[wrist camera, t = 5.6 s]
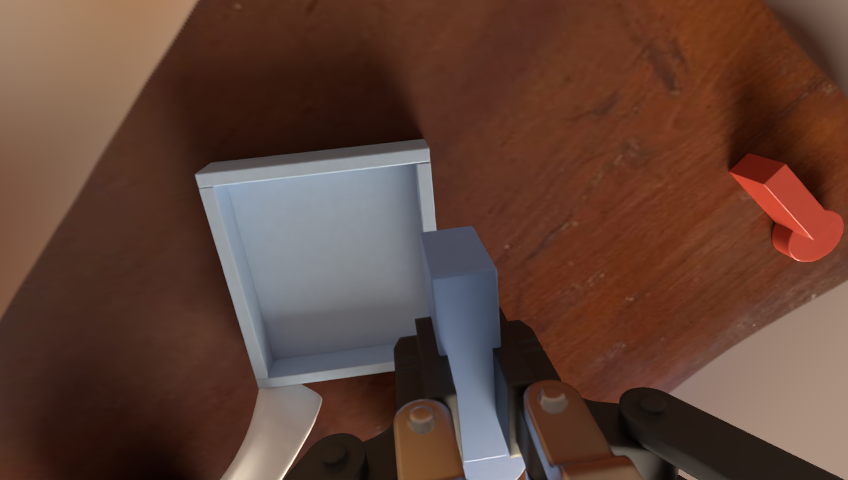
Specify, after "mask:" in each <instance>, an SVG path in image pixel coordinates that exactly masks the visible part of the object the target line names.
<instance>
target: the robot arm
mask: <svg viewBox="0 0 848 480" xmlns="http://www.w3.org/2000/svg"><path fill="white" fill-rule="evenodd" d="M499 317H500V336H501V347H498V348H493V365H494V382H495V399H496V416H497V419H498V422H499V425H500V428H501V431H502V434H503V436H504V439H505V442H506V445H507V448H508V451H509V454H510V457H511V458H515V457H521V456H522V458H523V461H524V464H525V467H526V480H687V479H685V478H683V477H682V476H680V475H678V470H679V469H681V470H683V471H684V472H686V473H688V474H690V475H691V476H693V477H695V478H696V479H698V480H844V479H842V478H840V477H838V476H836V475H833V474H831V473H829V472H827V471H825V470H823V469H821V468H819V467H817V466H815V465H813V464H811V463H809V462H807V461H805V460H803V459H801V458H799V457H797V456H795V455H792V454H790V453H788V452H786V451H784V450H782V449H780V448H778V447H776V446H774V445H772V444H770V443H768V442H766V441H764V440H762V439H760V438H758V437H756V436H754V435H751V434H749V433H747V432H745V431H743V430H741V429H739V428H737V427H735V426H733V425H731V424H729V423H727V422H725V421H723V420H721V419H719V418H717V417H715V416H712V415H710V414H708V413H706V412H704V411H702V410H700V409H698V408H696V407H694V406H692V405H690V404H688V403H686V402H684V401H682V400H680V399H678V398H676V397H674V396H671V395H669V394H667V393H665V392H663V391H660V390H657V389H653V388H645V387H640V388H633V389H630V390H628V391H626V392H625V393H623V394H622V396H621V397H620V400H619V404H617V403H606V402H596V401H591V400H587V399H584V398H582V397H581V395H580V394H579V392H578V391H577V390H576V389H575V388H573V387H572V386H570V385H569V384H566V383H564V382H562V381H561V379H560V377H559V376H558V374H557V372H556V370H555V369H554V367H553V365H552V363H551V362H550V360H549V358H548V356H547V355H546V353H545V351H544V350H543V348H542V346H541V344H540V342H539V341H538V339H537V337H536V335H535V334H534V332H533V330H532V328H530V327H529V326H527V325H526V324H525V323H523V322H522V321H520V320H515V321H508V322H507V320H506V318H505V315H504V313H503V311H502V309H501V308H500V307H499ZM415 326H416V333H417V335H413V336H406V337H400V338H399V340H398V341H397V343H396V345H395V347H394V349H393V350H394V365H395V381H396V397H397V413H396V415H395V417H394V422H393V423H392V425H391V426H390V427H389V428H388V429H387V430H385V431H384V432H383V433H381V434H380V435H378V436H376V437H374V438H372V439H369V440H367V441H365V442H362V441H361V440H360V439H359V438H357V437H356V436H354V435H351V434H345V433H340V434H333V435H330V436H327V437H325V438H323V439H321V440H320V441H318V442H317V443H315V444H314V445H313V446H312V447H311V448H310V449H309V450H308V452H307V453H306V454H305V455H304V456H303V457H302V459H301V460H300V461H299V462H298V463H297V464H296V466H295V467H294V468H293V469H292V470H291V471H290V473H289V474H288V475H287V476H286V477H285V478H284V480H466V477H465V473H464V468H463V466H464V461H463V451H462V441H461V431H460V420H459V410H458V400H457V392H456V388H455V384H454V380H453V376H452V372H451V367H450V363H449V359H448V355H445V356H440V355H439V352H438V347H437V343H436V338H435V333H434V328H433V324H432V319H431V316H429V317H422V318H415Z"/></svg>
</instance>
